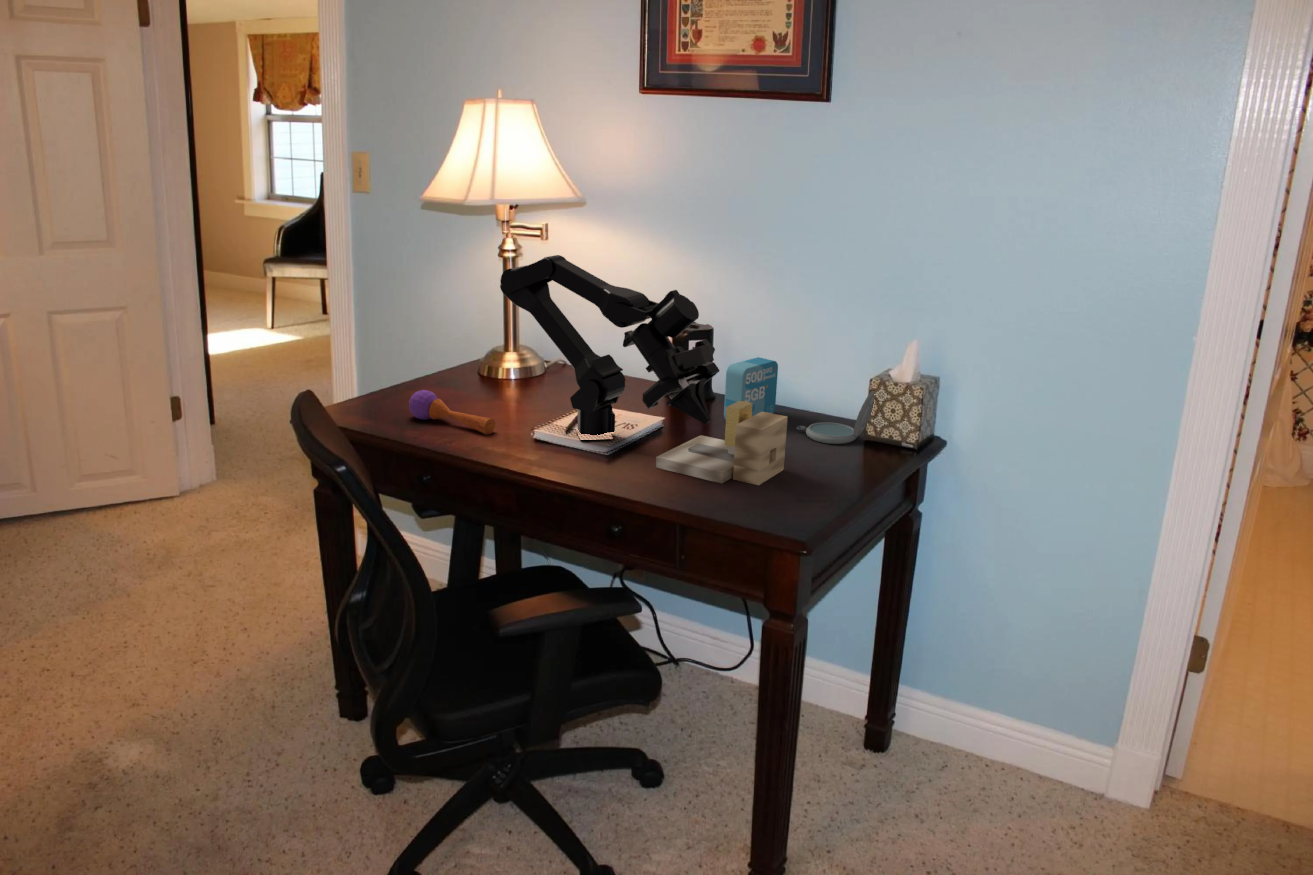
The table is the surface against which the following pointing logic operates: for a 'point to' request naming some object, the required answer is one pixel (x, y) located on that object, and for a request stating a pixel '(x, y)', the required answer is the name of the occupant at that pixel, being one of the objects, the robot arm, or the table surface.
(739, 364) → the data package
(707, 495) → the table surface
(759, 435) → the door and jamb
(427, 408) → the purple maraca
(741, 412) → the bolt
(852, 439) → the pocket watch
